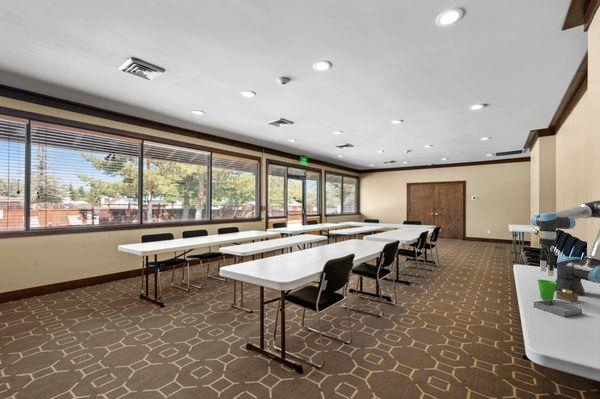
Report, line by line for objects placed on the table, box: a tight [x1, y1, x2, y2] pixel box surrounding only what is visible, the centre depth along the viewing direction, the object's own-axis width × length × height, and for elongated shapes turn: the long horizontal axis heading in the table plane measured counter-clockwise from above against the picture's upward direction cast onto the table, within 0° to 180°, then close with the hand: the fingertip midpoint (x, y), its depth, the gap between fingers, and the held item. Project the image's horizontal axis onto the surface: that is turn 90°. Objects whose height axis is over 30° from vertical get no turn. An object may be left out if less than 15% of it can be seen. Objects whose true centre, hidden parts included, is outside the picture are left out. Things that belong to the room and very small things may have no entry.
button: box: [562, 289, 572, 295], centre depth 171 cm, size 4×4×3 cm
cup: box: [537, 279, 557, 301], centre depth 170 cm, size 9×9×11 cm
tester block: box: [555, 291, 579, 303], centre depth 171 cm, size 7×7×4 cm
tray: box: [533, 299, 583, 318], centre depth 152 cm, size 14×14×3 cm
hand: (546, 273), depth 170 cm, fingers open, 13 cm apart
